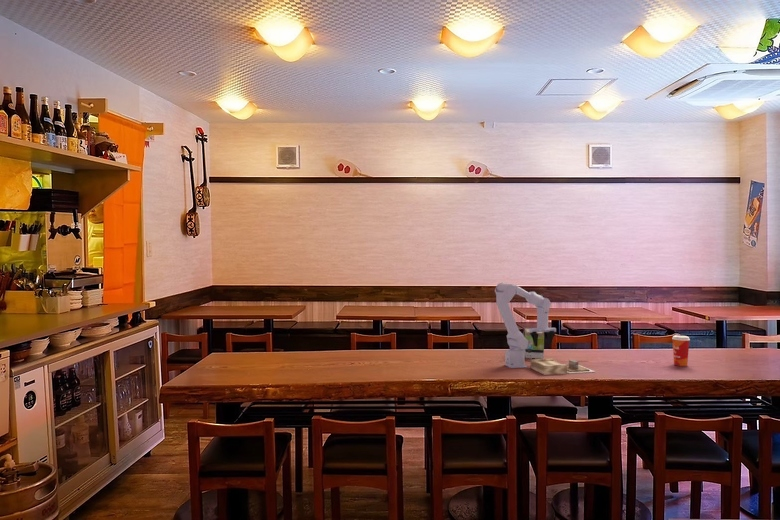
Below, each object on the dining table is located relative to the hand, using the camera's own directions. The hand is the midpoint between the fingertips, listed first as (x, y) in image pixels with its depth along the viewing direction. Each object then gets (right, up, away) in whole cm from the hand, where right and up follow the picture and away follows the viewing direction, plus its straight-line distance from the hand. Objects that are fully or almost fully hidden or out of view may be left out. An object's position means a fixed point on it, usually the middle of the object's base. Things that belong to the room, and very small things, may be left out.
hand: (542, 345), depth 265 cm
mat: (+12, -10, -14) cm, 21 cm away
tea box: (+1, -9, +19) cm, 21 cm away
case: (-2, -10, -16) cm, 19 cm away
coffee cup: (+71, -10, -4) cm, 72 cm away
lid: (+11, -9, -14) cm, 20 cm away
